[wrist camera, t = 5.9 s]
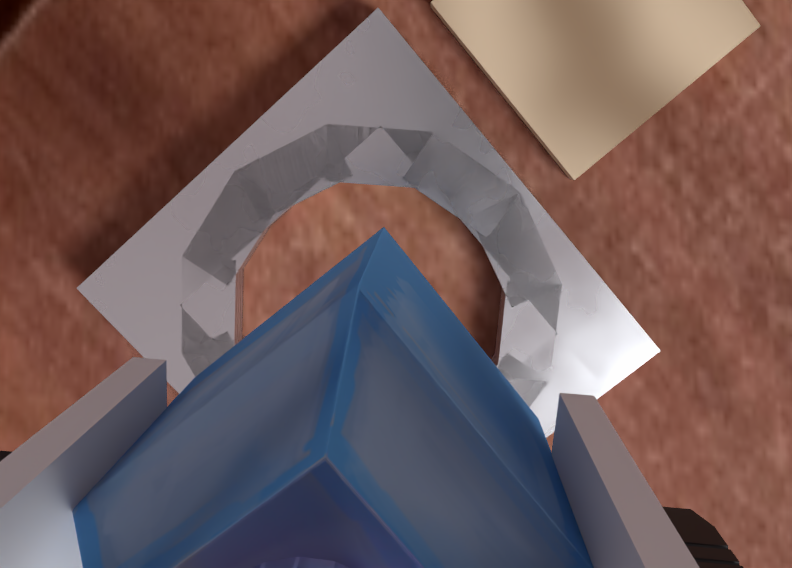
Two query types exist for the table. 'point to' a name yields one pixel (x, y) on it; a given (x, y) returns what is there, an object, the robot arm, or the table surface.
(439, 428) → the perfume bottle
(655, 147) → the table surface
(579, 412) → the robot arm
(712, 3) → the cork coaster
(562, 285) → the eye plate
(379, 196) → the table surface
